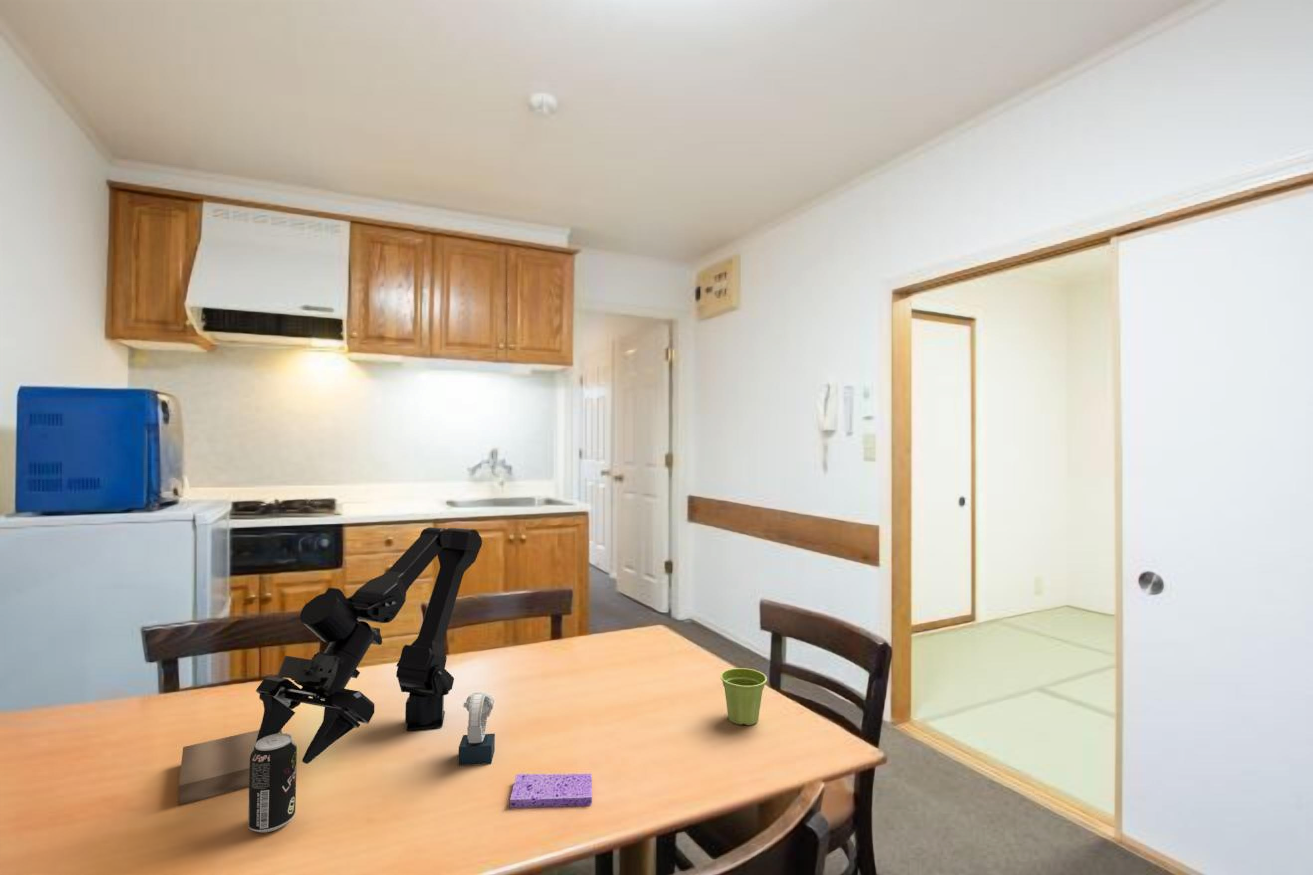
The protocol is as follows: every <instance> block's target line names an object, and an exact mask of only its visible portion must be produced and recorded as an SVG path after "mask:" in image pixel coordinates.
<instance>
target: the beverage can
mask: <svg viewBox="0 0 1313 875" xmlns="http://www.w3.org/2000/svg"><path fill="white" fill-rule="evenodd" d="M297 747H298V746H297V744H296V742H294V740H293V735H291V734H290V733H286V732H285V733H284V732H282V733H279V734H273V735H269V736H266V737H264V738H262V739H260V740H259V741H257V742H256V744H255V749H254V750H253V752H252V753H251V756H250V769H249V787H248V811H247V812H248V815H247V824H248V825H247V827H248V828H249V829H250V830H251V831H252V832H256V833H262V834H263V833H265V834H266V833H271V832H274V831H277V830H279V829H281V828H283V827H284V826H285V825H287V824H288V823H289V822H290V821H291V820H292V819H293V818H294V817H295V816H296V800H297V799H296V797H297V796H296V795H297V794H296V793H297V759H298V758H297V757H298V755H297V754H298V753H297V752H298V748H297Z"/></svg>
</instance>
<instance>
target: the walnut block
mask: <svg viewBox="0 0 1313 875" xmlns="http://www.w3.org/2000/svg"><path fill="white" fill-rule="evenodd" d="M259 730H260V729H256V730H252V731H249V732H244V733H239V734H236V735H231V736H226V737H221V738H217V739H212V740H208V741H204V742H200V743H195V744H191V745H187V746H186V745H185V746H182V753H181V762H180V763H181V764H180V769H179V770H180V772H179V779H178V780H179V781H178V786H177V787H178V788H177V789H178V791H177V793H178V795H177V796H178V797H177V805H178V806H177V807H180V806H183V805H187V804H190V803H194V802H198V801H202V800H204V799H205V800H206V799H209V798H212V797H216V796H220V795H223V794H228V793H232V792H235V791H239V790H243V789H247V788H249V769H250V756H251V753H252V752H253V750H254V747H255V743H256V740H257V737H258V733H259ZM279 733H283V732H282V729H281V730H280V731H279ZM279 733H278V734H279Z"/></svg>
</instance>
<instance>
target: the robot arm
mask: <svg viewBox="0 0 1313 875" xmlns="http://www.w3.org/2000/svg"><path fill="white" fill-rule="evenodd" d="M419 534H420V535H419V536H418V538H417V539H416V540H415V541H414V542H413V543H412V544H411V546H409V548H407V549H406V551H404V553H403V554H402V555H401V556H400V558H398V559H397V560H396V561H395V562H394V563H393V564H392V566H391V567H389V569H388V570H387V571H386V572H384V573H383V574H382V575H379V576H377V577H375V578H373V579H370V580H368V581H367V582H365V583H364V584H363V585H362V586H360V587H359V588H358V589H357V590H356V591H355V592H354V593H353V594H352V595H351V596H350V595H349V597H346V596H345V594H344V592H343V591H342V590H341V589H340V588H337V587H328V588H326V589H327V590H326V591H325V592H323V593H320V594H318V595H316V596H315V597H314V598H312V599H310V600H309V602H306V603H305V604H304V605H303V607H302V609H301V611H300V613H299V620H300V622H301V623H302V624H303V625H305V627H307V629H309V630H310V631H311V632H312V633H314V634H315V636H317V637H318V638H320V640H321V641H323V642H325V643H329V644H328V646H327V648H326V649H325V650H324V652H317V653H315V654H314V655H313V656H312V657H311V659H308V658H303V657H298V656H297V657H296V656H289V655H285V656H284V657H283V660H282V662H281V665H280V668H279V670H278V673H277V676H275V675H270V676H267V677H265V678H263V679H262V681H261V683H260V684H259V685H258V686H257V688H256V690H255V693H258V694H259V697H258V698H259V700H260V701H262V705H263V710H264V711H263V716H262V720H261V724H260V727H259V729H258V730H259V733H258V737H257V740H256V742H257V741H259V740H260V739H262V738H264V737H266V736H269V735H273V734H278V733H279V731H280V730H282V729H283V728H284V727H285V725H286V724H287V723H288V722H289V721H290V720H291V719H292V717H294V715H295V714H296V711H294V709H295V708H297V707H299V706H300V705H301V703H302V704H307V705H313V706H318V707H322V708H324V710H323V718H322V722H321V724H320V726H319V728H318V730H317V731H316V733H315V735H314V737H313V738H312V740H311V741H310V744H309V745H308V747H307V749H306V751H305V753H304V755H303V757H302V759H301V761H302V763H304V764H305V765H307V764H309V763H311V762H312V761H313V760H314V759H316V758H317V757H318V756H319V755H321V753H323V752H324V751H325V750H326V749H328V748H329V747H330V746H331V745H332V744H334V743H335V742H336V741H338V740H339V739H341V738H342V737H343V736H344V735H345V736H346V734H347V733H349V732H350V731H351V730H353V729H355V728H356V729H359V728H360V726H361V724H360V723H362V724H367V725H368V724H369V723H370V721H371V720H372V718H373V716H374V714H375V703H374V702H373V701H372V700H371V699H369V698H368V697H367V696H366V695H364V694H363V693H362V692H361V691H360V690H354V689H349V688H346V687H347V685H348V683H349V682H350V680H351V678H352V679H358V677H359V675H360V674H361V671H359V670H358V669H357V668H358V667H359V665H360V664H361V662H362V660H363V659H364V656H365V655H366V653H367V652H368V650H369V649H370V647H371V645H377V646H381V645H382V644H383V637H382V635H381V628H380V627H372V626H371V625H370V624H369V623H368V622H371V623H379V624H387V623H388V624H389V623H391V622H392V621H393V620H394V619H395V618H396V617H397V615H398V614H399V612H400V611H401V609H402V607H403V606H404V605H405V603H406V598H407V591H408V590H409V589H410V587H411V586H412V585H413V584H414V582H416V580H417V579H418V578H419V577H420V575H421V574H423V572H424V571H425V570H426V568H428V566H429V565H430V564H431V563H432V561H434V559H435V558H436V557H437V560H438V563H439V570H438V572H437V576H436V580H435V582H434V585H433V589H432V592H431V595H430V598H429V601H428V604H427V607H426V611H425V613H424V616H423V621H422V623H421V626H420V630H419V633H418V636H417V638H416V639H415V640H414V641H413V642H412V643H411V644H405V645H404V646H403V647H402V649H401V653H400V658H399V659H398V660H399V661H398V662H397V663H396V665H395V667H397V669H396V678H397V680H398V684H399V688H400V692H401V693H409V694H408V697H407V698H406V701H405V710H404V711H405V714H404V715H405V718H404V719H405V720H404V721H405V724H407V725H406V731H408V732H409V731H417V730H426V729H436V728H437V729H438V728H442V727H443V724H444V719H445V715H446V712H445V705H444V704H445V696H447V695H449V694H450V693H449V692H450V691H452V689H453V685H454V682H455V681H454V680H455V677H453V675H452V674H451V673H450V672H449V671H448V670H447V669H446V663H447V660H448V659H447V655H446V649H445V646H444V641H445V637H446V635H447V631H448V627H449V623H450V621H451V619H452V618H451V617H452V614H453V611H454V607H455V604H456V601H457V597H458V593H459V591H460V587H461V584H462V580H463V577H464V573H466V571H467V570H469V568H470V567H472V565H473V564H474V563H475V562H476V560H477V557H478V555H479V553H480V550H481V548H482V544H483V539H482V536H481V535H480V533H479V531H478V530H476V529H474V528H459V527H458V528H457V527H455V528H454V527H449V528H445V527H434V526H433V527H426V528H423V530H422V531H421V532H420V533H419ZM290 679H291V680H290ZM299 686H301V688H300V687H299ZM255 744H256V743H255ZM254 749H255V747H254Z"/></svg>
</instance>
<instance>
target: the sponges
mask: <svg viewBox="0 0 1313 875" xmlns="http://www.w3.org/2000/svg"><path fill="white" fill-rule="evenodd" d="M592 774H593V773H591V772H590V773H586V772H584V773H580V774H579V773H568V774H562V773H557V774H556V773H550V774H545V773H542V774H541V773H533V774H529V773H516V774H515V779H514V782H513V785H512V791H511V794H510V798H509V800H510V802H509V803H510V804H509V805H510V806H509V807H510V808H511V809H514V808H519V809H520V808H541V807H543V808H544V807H545V808H546V807H575V806H577V807H578V806H579V807H580V806H581V807H584V806H587V807H588V806H590V805H592V804H593V779H592V778H593V777H592V776H593V775H592Z"/></svg>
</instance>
